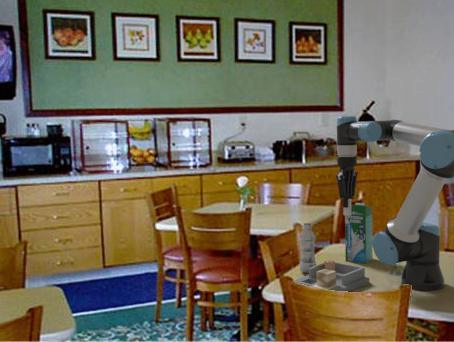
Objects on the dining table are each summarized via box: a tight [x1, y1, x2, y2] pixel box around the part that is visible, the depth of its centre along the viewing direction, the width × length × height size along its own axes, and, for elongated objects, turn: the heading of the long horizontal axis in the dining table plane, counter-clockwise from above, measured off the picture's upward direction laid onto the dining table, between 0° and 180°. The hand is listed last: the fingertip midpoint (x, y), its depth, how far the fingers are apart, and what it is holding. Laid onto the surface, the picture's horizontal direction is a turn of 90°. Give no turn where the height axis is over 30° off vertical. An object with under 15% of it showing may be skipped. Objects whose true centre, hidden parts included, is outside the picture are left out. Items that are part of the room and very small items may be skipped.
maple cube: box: [317, 269, 336, 288], centre depth 212 cm, size 5×5×5 cm
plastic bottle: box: [298, 222, 317, 274], centre depth 234 cm, size 6×7×20 cm
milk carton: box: [344, 202, 373, 264], centre depth 251 cm, size 9×9×25 cm
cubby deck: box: [293, 261, 370, 292], centre depth 218 cm, size 20×22×6 cm
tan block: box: [324, 260, 336, 271], centre depth 225 cm, size 4×4×5 cm
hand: (347, 215), depth 230 cm, fingers closed
